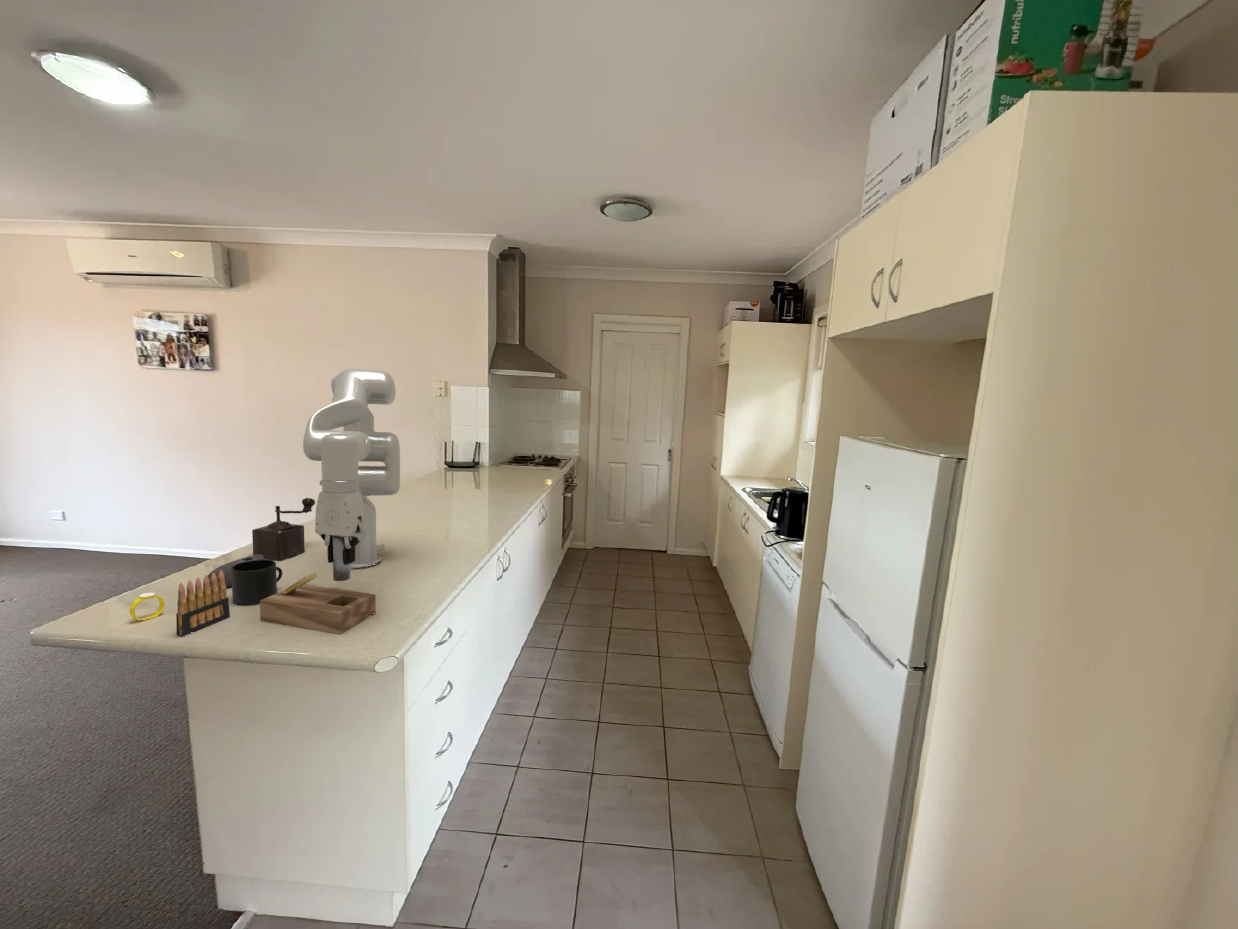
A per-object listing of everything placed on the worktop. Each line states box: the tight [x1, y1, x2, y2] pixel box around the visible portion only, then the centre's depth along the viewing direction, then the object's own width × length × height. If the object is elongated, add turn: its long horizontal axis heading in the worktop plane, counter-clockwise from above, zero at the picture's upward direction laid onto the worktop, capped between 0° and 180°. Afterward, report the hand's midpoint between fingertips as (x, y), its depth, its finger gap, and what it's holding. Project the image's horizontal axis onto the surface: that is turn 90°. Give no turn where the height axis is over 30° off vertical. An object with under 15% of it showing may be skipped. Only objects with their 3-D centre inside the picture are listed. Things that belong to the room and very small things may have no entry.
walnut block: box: [259, 583, 377, 635], centre depth 122 cm, size 12×22×5 cm, turn 78°
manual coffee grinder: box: [251, 497, 316, 562], centre depth 166 cm, size 16×11×18 cm
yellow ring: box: [129, 592, 166, 622], centre depth 117 cm, size 6×3×6 cm, turn 158°
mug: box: [231, 559, 283, 606], centre depth 132 cm, size 9×12×9 cm
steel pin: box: [332, 536, 351, 582], centre depth 119 cm, size 4×4×11 cm
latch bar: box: [282, 572, 318, 595], centre depth 123 cm, size 3×8×1 cm
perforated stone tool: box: [207, 554, 265, 589], centre depth 139 cm, size 15×5×7 cm, turn 153°
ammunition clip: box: [176, 570, 231, 638], centre depth 114 cm, size 11×2×12 cm, turn 167°
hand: (341, 561), depth 119 cm, fingers closed on steel pin, 3 cm apart
